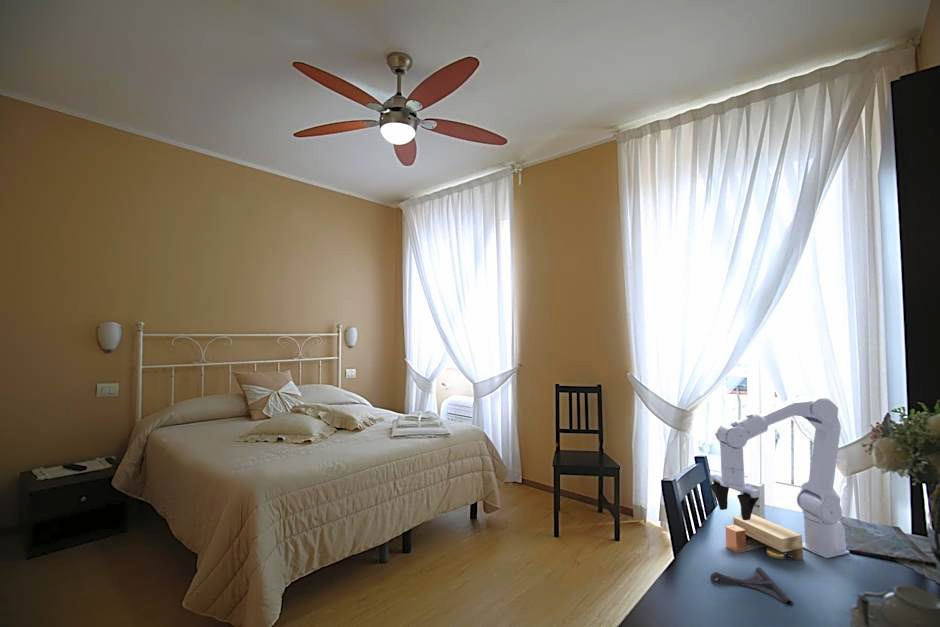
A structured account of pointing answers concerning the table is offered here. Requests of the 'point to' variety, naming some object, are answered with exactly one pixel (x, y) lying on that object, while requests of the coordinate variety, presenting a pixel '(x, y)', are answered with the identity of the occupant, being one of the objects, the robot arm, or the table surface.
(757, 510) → the skincare box
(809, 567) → the table surface
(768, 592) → the bracket
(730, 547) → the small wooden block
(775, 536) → the wooden plank block
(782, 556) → the token
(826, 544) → the robot arm
